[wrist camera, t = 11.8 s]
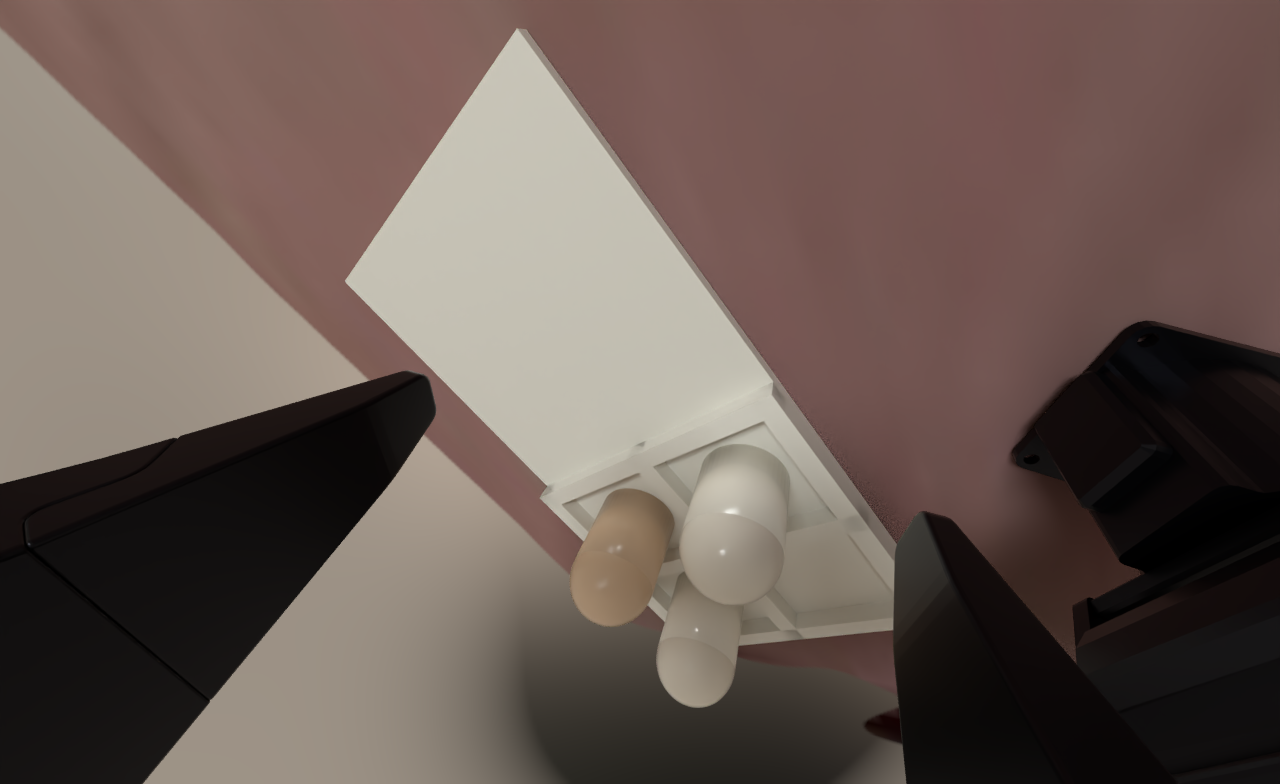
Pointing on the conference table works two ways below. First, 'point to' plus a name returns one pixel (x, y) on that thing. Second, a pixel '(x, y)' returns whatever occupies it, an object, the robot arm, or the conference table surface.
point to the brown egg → (621, 557)
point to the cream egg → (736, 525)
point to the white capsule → (698, 646)
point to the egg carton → (606, 343)
